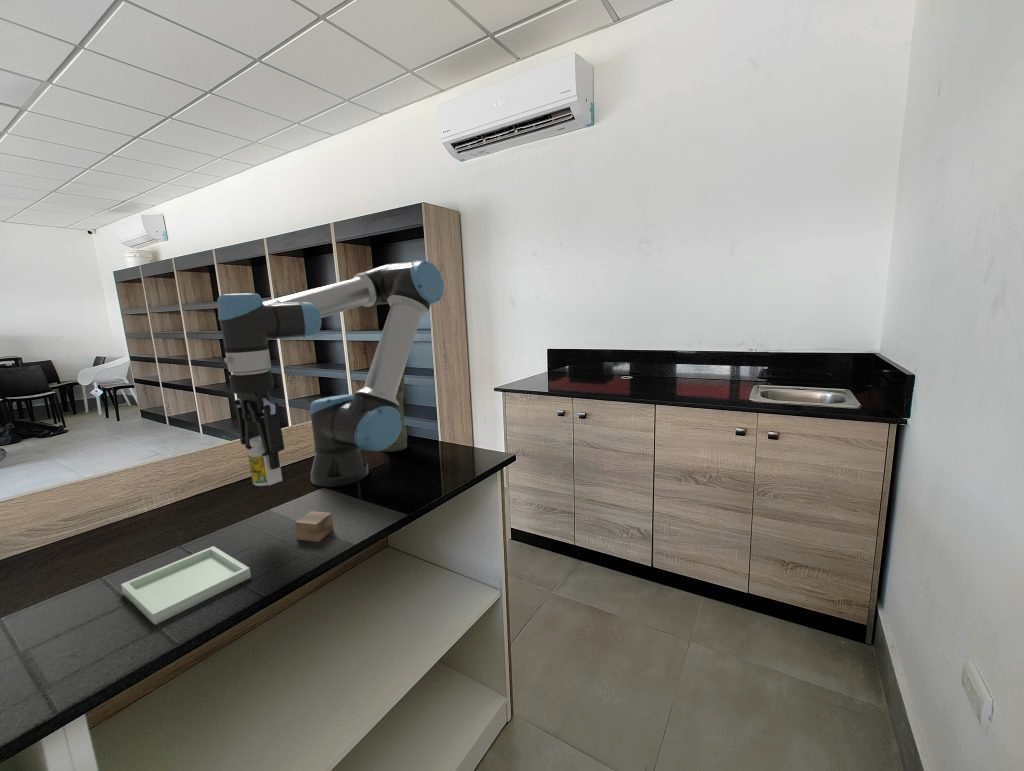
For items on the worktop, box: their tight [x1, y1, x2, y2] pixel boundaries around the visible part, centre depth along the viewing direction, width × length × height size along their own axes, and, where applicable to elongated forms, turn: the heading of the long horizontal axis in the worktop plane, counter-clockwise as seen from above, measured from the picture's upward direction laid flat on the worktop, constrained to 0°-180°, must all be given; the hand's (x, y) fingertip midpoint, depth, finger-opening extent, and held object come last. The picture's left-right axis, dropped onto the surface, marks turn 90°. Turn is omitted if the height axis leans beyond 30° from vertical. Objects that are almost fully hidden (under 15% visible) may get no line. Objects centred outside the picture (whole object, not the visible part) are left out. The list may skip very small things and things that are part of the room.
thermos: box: [381, 371, 408, 453], centre depth 146 cm, size 9×12×35 cm
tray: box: [120, 545, 252, 626], centre depth 76 cm, size 14×14×2 cm
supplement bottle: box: [247, 436, 269, 487], centre depth 92 cm, size 5×5×10 cm
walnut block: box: [294, 510, 334, 543], centre depth 92 cm, size 5×5×4 cm
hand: (267, 479), depth 93 cm, fingers closed on supplement bottle, 5 cm apart
